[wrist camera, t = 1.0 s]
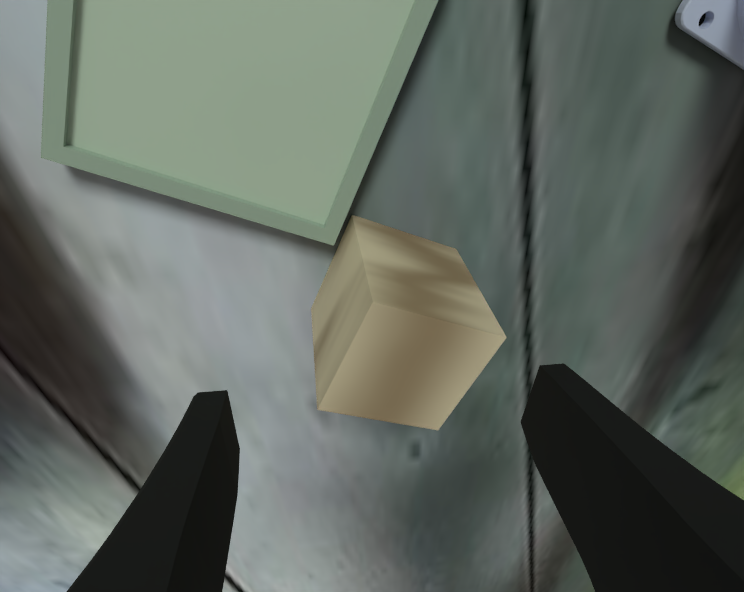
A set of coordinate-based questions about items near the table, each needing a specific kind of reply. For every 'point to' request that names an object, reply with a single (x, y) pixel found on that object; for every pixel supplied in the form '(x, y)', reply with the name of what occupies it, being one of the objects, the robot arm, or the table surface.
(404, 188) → the table surface
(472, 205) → the table surface
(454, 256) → the maple block
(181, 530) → the robot arm
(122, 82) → the tray
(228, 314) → the table surface
